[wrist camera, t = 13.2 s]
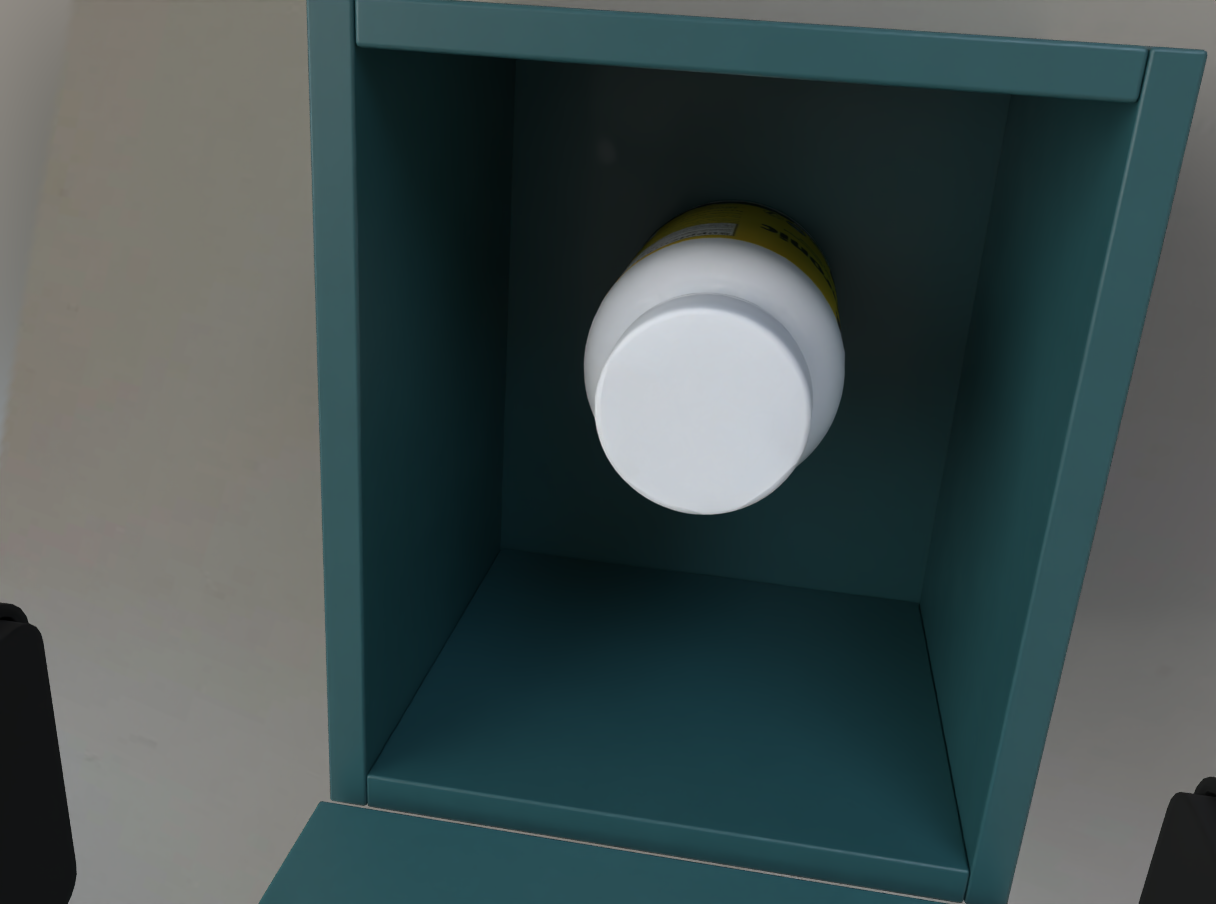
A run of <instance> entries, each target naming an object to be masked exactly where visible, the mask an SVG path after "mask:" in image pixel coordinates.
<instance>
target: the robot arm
mask: <svg viewBox="0 0 1216 904" xmlns="http://www.w3.org/2000/svg"><path fill="white" fill-rule="evenodd" d="M76 875H77V873H76V860H75V853H74V846H73V840H72V833H71V826H70V819H69V813H68V806H67V799H66V792H65V786H64V779H63V772H62V765H61V758H60V752H59V745H58V738H57V731H56V725H55V718H54V711H53V704H52V698H51V691H50V684H49V677H48V671H47V664H46V657H45V650H44V644H43V639H42V636H41V633H40V631H39V630H38V629H37V627H35V626H33V625H31V624H29V623H28V620H27V616H26V615H25V614H24V612H23V611H22V610H21V608H19V607H17V606H15V605H13V604H7V603H0V904H68V902H69V900H70V898H71V896H72V892H73V889H74V886H75V881H76ZM1139 904H1216V777H1208V778H1205V779H1203V780H1202V781H1201V782H1200V783H1199V785H1198V786H1197V787H1196V790H1195V792H1194V794H1191V793H1184V792H1179V793H1176V794H1175V795H1174V796H1173V797H1172V799H1171V800H1170V803H1169V805H1168V808H1167V811H1166V814H1165V818H1164V821H1163V824H1162V827H1161V831H1160V834H1159V837H1158V841H1157V844H1156V847H1155V851H1154V854H1153V857H1152V861H1151V864H1150V867H1149V871H1148V874H1147V877H1146V881H1145V884H1144V887H1143V891H1142V894H1141V897H1140V901H1139Z"/></svg>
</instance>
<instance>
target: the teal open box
mask: <svg viewBox="0 0 1216 904" xmlns="http://www.w3.org/2000/svg"><path fill="white" fill-rule="evenodd" d="M306 1H307V34H308V67H309V100H310V133H311V167H312V200H313V233H314V266H315V300H316V333H317V366H318V399H319V432H320V466H321V499H322V532H323V565H324V598H325V632H326V665H327V698H328V731H329V765H330V798H331V800H332V801H337V802H343V803H350V804H356V805H362V806H365V805H367V803H368V806H370V807H375V808H381V809H387V810H393V811H399V812H405V813H411V814H418V815H424V816H430V817H436V818H442V819H448V820H454V821H460V822H467V823H473V824H479V825H485V826H491V827H497V828H503V829H509V830H516V831H522V832H528V833H534V834H540V835H546V836H552V837H558V838H565V839H571V840H577V841H583V842H589V843H595V844H601V845H607V846H614V847H620V848H626V849H632V850H638V851H644V852H650V853H656V854H663V855H669V856H675V857H681V858H687V859H693V860H699V861H706V862H712V863H718V864H724V865H730V866H736V867H742V868H748V869H755V870H761V871H767V872H773V873H779V874H785V875H791V876H797V877H804V878H810V879H816V880H822V881H828V882H834V883H840V884H846V885H853V886H859V887H865V888H871V889H877V890H883V891H889V892H895V893H902V894H908V895H914V896H920V897H926V898H932V899H938V900H944V901H951V902H957V903H962V902H963V900H964V902H965V903H966V904H1007V902H1008V898H1009V894H1010V890H1011V885H1012V881H1013V877H1014V873H1015V868H1016V864H1017V860H1018V856H1019V851H1020V847H1021V843H1022V839H1023V835H1024V830H1025V826H1026V822H1027V818H1028V813H1029V809H1030V805H1031V801H1032V796H1033V792H1034V788H1035V784H1036V779H1037V775H1038V771H1039V767H1040V763H1041V758H1042V754H1043V750H1044V746H1045V741H1046V737H1047V733H1048V729H1049V724H1050V720H1051V716H1052V712H1053V707H1054V703H1055V699H1056V695H1057V690H1058V686H1059V682H1060V678H1061V674H1062V669H1063V665H1064V661H1065V657H1066V652H1067V648H1068V644H1069V640H1070V635H1071V631H1072V627H1073V623H1074V618H1075V614H1076V610H1077V606H1078V602H1079V597H1080V593H1081V589H1082V585H1083V580H1084V576H1085V572H1086V568H1087V563H1088V559H1089V555H1090V551H1091V546H1092V542H1093V538H1094V534H1095V530H1096V525H1097V521H1098V517H1099V513H1100V508H1101V504H1102V500H1103V496H1104V491H1105V487H1106V483H1107V479H1108V474H1109V470H1110V466H1111V462H1112V457H1113V453H1114V449H1115V445H1116V441H1117V436H1118V432H1119V428H1120V424H1121V419H1122V415H1123V411H1124V407H1125V402H1126V398H1127V394H1128V390H1129V385H1130V381H1131V377H1132V373H1133V369H1134V364H1135V360H1136V356H1137V352H1138V347H1139V343H1140V339H1141V335H1142V330H1143V326H1144V322H1145V318H1146V313H1147V309H1148V305H1149V301H1150V296H1151V292H1152V288H1153V284H1154V280H1155V275H1156V271H1157V267H1158V263H1159V258H1160V254H1161V250H1162V246H1163V241H1164V237H1165V233H1166V229H1167V224H1168V220H1169V216H1170V212H1171V208H1172V203H1173V199H1174V195H1175V191H1176V186H1177V182H1178V178H1179V174H1180V169H1181V165H1182V161H1183V157H1184V152H1185V148H1186V144H1187V140H1188V136H1189V131H1190V127H1191V123H1192V119H1193V114H1194V110H1195V106H1196V102H1197V97H1198V93H1199V89H1200V85H1201V80H1202V76H1203V72H1204V68H1205V63H1206V59H1207V52H1206V51H1204V50H1198V49H1183V48H1168V47H1152V46H1138V45H1122V44H1107V43H1092V42H1077V41H1062V40H1047V39H1032V38H1017V37H1002V36H986V35H971V34H956V33H941V32H926V31H911V30H896V29H881V28H865V27H850V26H835V25H820V24H805V23H790V22H775V21H760V20H745V19H729V18H714V17H699V16H684V15H669V14H654V13H639V12H624V11H609V10H593V9H578V8H563V7H548V6H533V5H518V4H503V3H488V2H473V1H457V0H306ZM728 200H739V201H749V202H754V203H759V204H762V205H765V206H768V207H771V208H774V209H776V210H778V211H780V212H782V213H784V214H785V215H787V216H788V217H790V218H791V219H793V220H794V221H796V222H797V223H798V224H800V225H801V226H802V227H803V228H804V229H805V230H806V231H807V232H808V233H809V234H810V235H811V236H812V238H813V239H814V240H815V241H816V243H817V244H818V246H819V247H820V249H821V250H822V252H823V254H824V256H825V258H826V259H827V262H828V264H829V267H830V269H831V272H832V275H833V279H834V283H835V287H836V294H837V302H838V311H839V318H840V326H841V332H842V338H843V345H844V350H845V376H844V386H843V392H842V397H841V400H840V404H839V407H838V410H837V413H836V416H835V418H834V420H833V422H832V424H831V426H830V428H829V430H828V432H827V433H826V435H825V436H824V438H823V439H822V441H821V442H820V443H819V445H818V446H817V447H816V449H815V450H814V451H813V452H812V453H811V454H810V455H809V456H808V457H807V458H806V459H805V460H804V461H803V462H802V463H801V464H799V465H798V466H797V467H796V468H795V469H794V470H793V472H792V473H791V474H790V475H789V477H788V478H787V479H786V480H785V481H784V482H783V483H782V484H781V485H780V486H779V487H778V488H777V489H776V490H774V491H773V492H772V493H771V494H769V495H768V496H766V497H765V498H763V499H762V500H760V501H758V502H756V503H754V504H752V505H749V506H747V507H745V508H742V509H739V510H736V511H732V512H728V513H721V514H713V515H700V514H689V513H683V512H678V511H675V510H672V509H669V508H666V507H663V506H661V505H659V504H656V503H654V502H653V501H651V500H649V499H647V498H645V497H644V496H643V495H641V494H640V493H638V492H637V491H636V490H634V489H633V488H632V487H631V486H630V485H629V484H628V483H627V482H626V481H625V480H624V479H623V478H622V477H621V476H620V475H619V474H618V473H617V471H616V470H615V469H614V467H613V466H612V464H611V463H610V461H609V460H608V458H607V456H606V454H605V452H604V450H603V448H602V445H601V442H600V439H599V436H598V432H597V428H596V422H595V418H594V415H593V413H592V410H591V407H590V404H589V401H588V398H587V393H586V387H585V380H584V355H585V347H586V342H587V338H588V334H589V330H590V327H591V325H592V322H593V319H594V317H595V315H596V313H597V311H598V309H599V307H600V304H601V302H602V300H603V299H604V297H605V296H606V294H607V293H608V291H609V290H610V289H611V288H612V286H613V285H614V283H615V282H616V281H617V280H618V279H619V277H620V276H621V275H622V273H623V272H624V271H625V269H626V268H627V267H628V265H629V264H630V263H631V261H632V260H633V259H634V258H635V256H636V255H637V254H638V252H639V251H640V249H641V248H642V247H643V246H644V245H645V243H646V242H647V241H648V239H649V238H650V237H651V236H652V235H653V234H654V233H655V232H656V231H657V230H658V229H659V228H660V227H662V226H663V225H664V224H665V223H667V222H668V221H670V220H671V219H673V218H674V217H676V216H677V215H679V214H681V213H683V212H685V211H687V210H689V209H691V208H694V207H696V206H699V205H703V204H706V203H711V202H717V201H728Z"/></svg>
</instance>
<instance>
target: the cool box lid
mask: <svg viewBox="0 0 1216 904" xmlns="http://www.w3.org/2000/svg"><path fill="white" fill-rule="evenodd" d="M259 904H947V903H941V902H935V901H928V900H922V899H916V898H910V897H904V896H898V895H892V894H886V893H879V892H873V891H867V890H861V889H855V888H849V887H843V886H837V885H831V884H824V883H818V882H812V881H806V880H800V879H794V878H788V877H782V876H776V875H769V874H763V873H757V872H751V871H745V870H739V869H733V868H727V867H720V866H714V865H708V864H702V863H696V862H690V861H684V860H678V859H672V858H665V857H659V856H653V855H647V854H641V853H635V852H629V851H623V850H616V849H610V848H604V847H598V846H592V845H586V844H580V843H574V842H568V841H561V840H555V839H549V838H543V837H537V836H531V835H525V834H519V833H513V832H506V831H500V830H494V829H488V828H482V827H476V826H470V825H464V824H457V823H451V822H445V821H439V820H433V819H427V818H421V817H415V816H409V815H402V814H396V813H390V812H384V811H378V810H372V809H366V808H360V807H353V806H347V805H341V804H335V803H329V802H323V801H322V802H320V803H319V804H318V806H317V807H316V809H315V811H314V812H313V814H312V816H311V817H310V819H309V821H308V822H307V824H306V826H305V827H304V829H303V831H302V832H301V834H300V836H299V837H298V839H297V841H296V842H295V844H294V846H293V847H292V849H291V851H290V852H289V854H288V856H287V857H286V859H285V861H284V862H283V864H282V866H281V867H280V869H279V871H278V872H277V874H276V875H275V877H274V879H273V880H272V882H271V884H270V885H269V887H268V889H267V890H266V892H265V894H264V895H263V897H262V899H261V900H260V902H259Z"/></svg>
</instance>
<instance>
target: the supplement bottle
mask: <svg viewBox="0 0 1216 904" xmlns="http://www.w3.org/2000/svg"><path fill="white" fill-rule="evenodd" d="M844 376H845V350H844V345H843V338H842V332H841V326H840V318H839V311H838V302H837V294H836V287H835V283H834V279H833V275H832V272H831V269H830V267H829V264H828V262H827V259H826V258H825V256H824V254H823V252H822V250H821V249H820V247H819V246H818V244H817V243H816V241H815V240H814V239H813V238H812V236H811V235H810V234H809V233H808V232H807V231H806V230H805V229H804V228H803V227H802V226H801V225H800V224H798V223H797V222H796V221H794V220H793V219H791V218H790V217H788V216H787V215H785V214H784V213H782V212H780V211H778V210H776V209H774V208H771V207H768V206H765V205H762V204H759V203H754V202H749V201H739V200H728V201H717V202H711V203H706V204H703V205H699V206H696V207H694V208H691V209H689V210H687V211H685V212H683V213H681V214H679V215H677V216H676V217H674V218H673V219H671V220H670V221H668V222H667V223H665V224H664V225H663V226H662V227H660V228H659V229H658V230H657V231H656V232H655V233H654V234H653V235H652V236H651V237H650V238H649V239H648V241H647V242H646V243H645V245H644V246H643V247H642V248H641V249H640V251H639V252H638V254H637V255H636V256H635V258H634V259H633V260H632V261H631V263H630V264H629V265H628V267H627V268H626V269H625V271H624V272H623V273H622V275H621V276H620V277H619V279H618V280H617V281H616V282H615V283H614V285H613V286H612V288H611V289H610V290H609V291H608V293H607V294H606V296H605V297H604V299H603V300H602V302H601V304H600V307H599V309H598V311H597V313H596V315H595V317H594V319H593V322H592V325H591V327H590V330H589V334H588V338H587V342H586V347H585V355H584V380H585V387H586V393H587V398H588V401H589V404H590V407H591V410H592V413H593V415H594V418H595V422H596V428H597V432H598V436H599V439H600V442H601V445H602V448H603V450H604V452H605V454H606V456H607V458H608V460H609V461H610V463H611V464H612V466H613V467H614V469H615V470H616V471H617V473H618V474H619V475H620V476H621V477H622V478H623V479H624V480H625V481H626V482H627V483H628V484H629V485H630V486H631V487H632V488H633V489H634V490H636V491H637V492H638V493H640V494H641V495H643V496H644V497H645V498H647V499H649V500H651V501H653V502H654V503H656V504H659V505H661V506H663V507H666V508H669V509H672V510H675V511H678V512H683V513H689V514H700V515H713V514H721V513H728V512H732V511H736V510H739V509H742V508H745V507H747V506H749V505H752V504H754V503H756V502H758V501H760V500H762V499H763V498H765V497H766V496H768V495H769V494H771V493H772V492H773V491H774V490H776V489H777V488H778V487H779V486H780V485H781V484H782V483H783V482H784V481H785V480H786V479H787V478H788V477H789V475H790V474H791V473H792V472H793V470H794V469H795V468H796V467H797V466H798V465H799V464H801V463H802V462H803V461H804V460H805V459H806V458H807V457H808V456H809V455H810V454H811V453H812V452H813V451H814V450H815V449H816V447H817V446H818V445H819V443H820V442H821V441H822V439H823V438H824V436H825V435H826V433H827V432H828V430H829V428H830V426H831V424H832V422H833V420H834V418H835V416H836V413H837V410H838V407H839V404H840V400H841V397H842V392H843V386H844Z"/></svg>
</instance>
